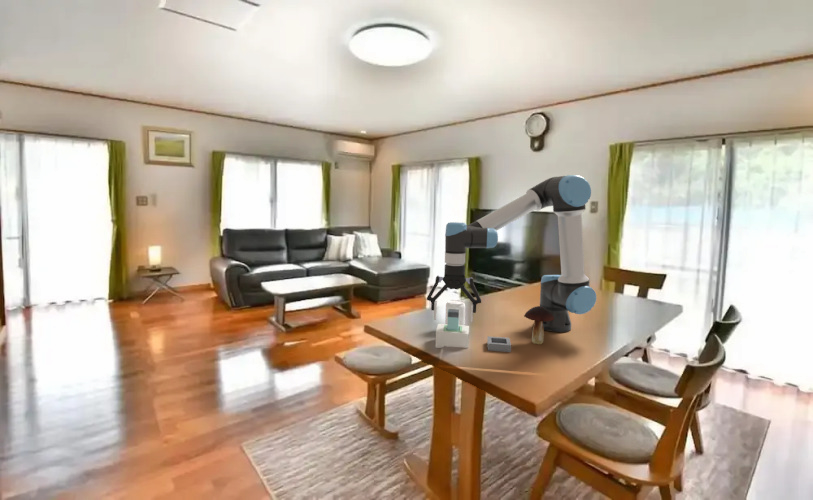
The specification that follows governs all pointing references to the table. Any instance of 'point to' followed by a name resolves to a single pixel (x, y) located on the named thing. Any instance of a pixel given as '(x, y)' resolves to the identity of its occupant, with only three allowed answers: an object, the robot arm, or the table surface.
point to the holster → (499, 344)
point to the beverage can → (459, 306)
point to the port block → (452, 336)
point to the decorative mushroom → (538, 322)
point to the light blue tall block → (453, 319)
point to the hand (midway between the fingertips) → (453, 319)
